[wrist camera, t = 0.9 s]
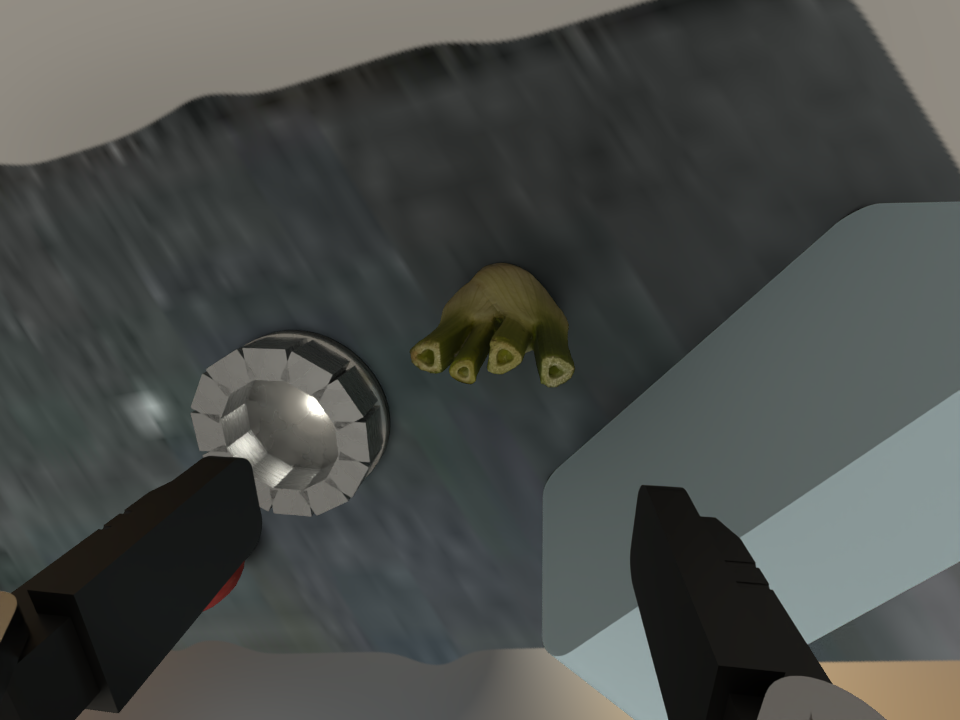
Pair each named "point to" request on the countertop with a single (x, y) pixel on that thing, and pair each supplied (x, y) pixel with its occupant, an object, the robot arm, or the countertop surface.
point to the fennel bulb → (498, 329)
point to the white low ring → (294, 419)
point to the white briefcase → (782, 448)
